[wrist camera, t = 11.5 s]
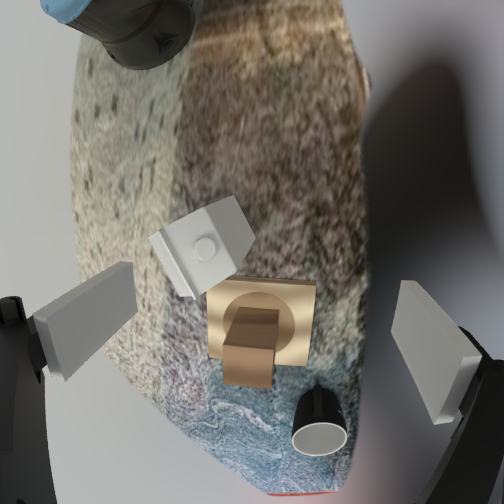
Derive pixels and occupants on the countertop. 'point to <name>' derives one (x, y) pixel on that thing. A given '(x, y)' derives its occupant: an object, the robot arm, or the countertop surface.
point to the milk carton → (204, 246)
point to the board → (267, 297)
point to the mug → (318, 424)
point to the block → (251, 348)
